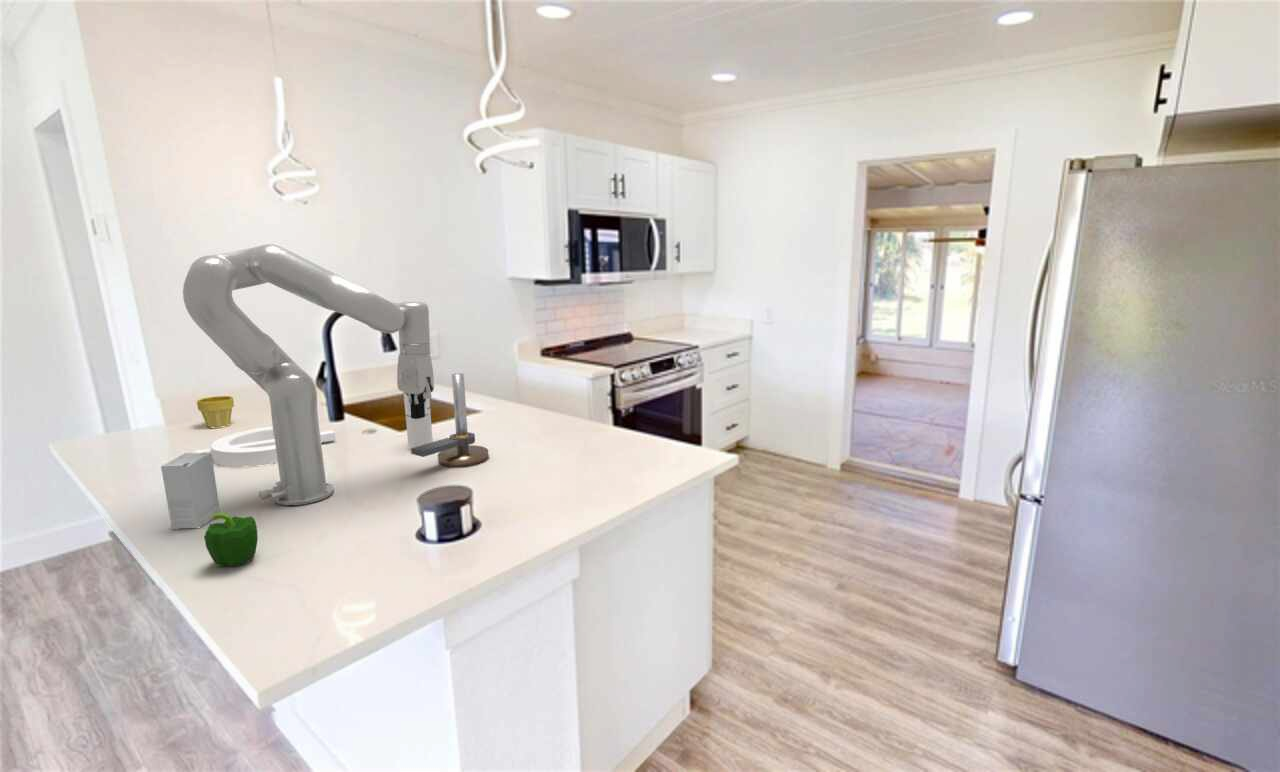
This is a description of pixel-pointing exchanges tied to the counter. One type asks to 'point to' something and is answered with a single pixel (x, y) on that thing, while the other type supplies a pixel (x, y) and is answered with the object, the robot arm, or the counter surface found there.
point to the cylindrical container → (418, 426)
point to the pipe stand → (461, 433)
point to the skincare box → (190, 490)
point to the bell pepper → (231, 540)
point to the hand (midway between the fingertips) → (418, 417)
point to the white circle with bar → (250, 447)
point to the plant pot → (216, 410)
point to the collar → (443, 445)
